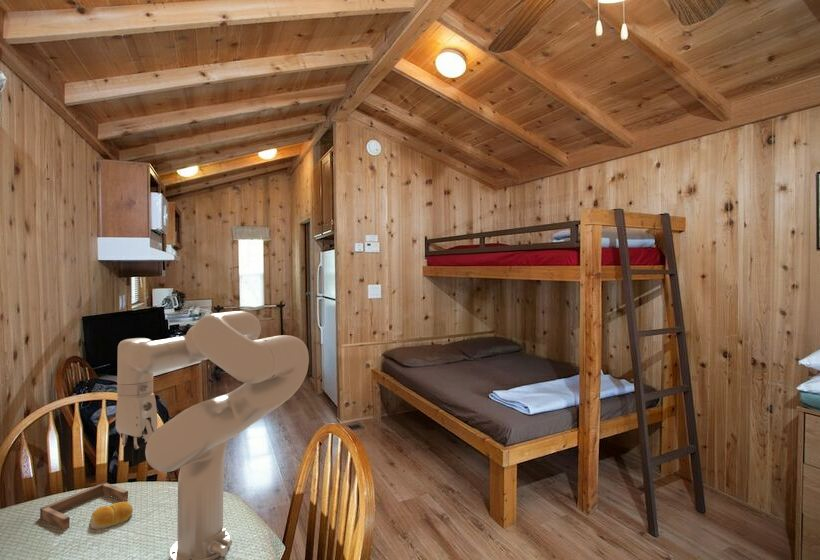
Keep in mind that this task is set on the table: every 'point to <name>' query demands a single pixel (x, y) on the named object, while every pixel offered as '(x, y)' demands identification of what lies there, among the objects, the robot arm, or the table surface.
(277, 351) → the robot arm
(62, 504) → the frame
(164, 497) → the table surface
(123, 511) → the bread roll
